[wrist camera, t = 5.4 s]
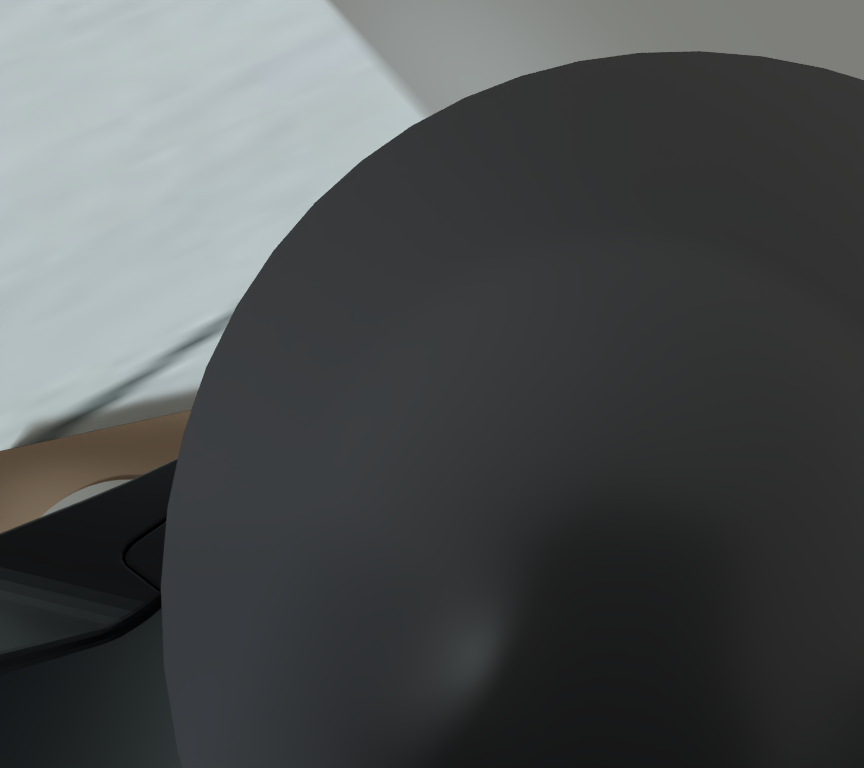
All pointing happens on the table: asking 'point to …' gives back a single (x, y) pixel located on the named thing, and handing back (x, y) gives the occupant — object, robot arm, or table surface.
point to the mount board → (83, 466)
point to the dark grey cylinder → (544, 442)
